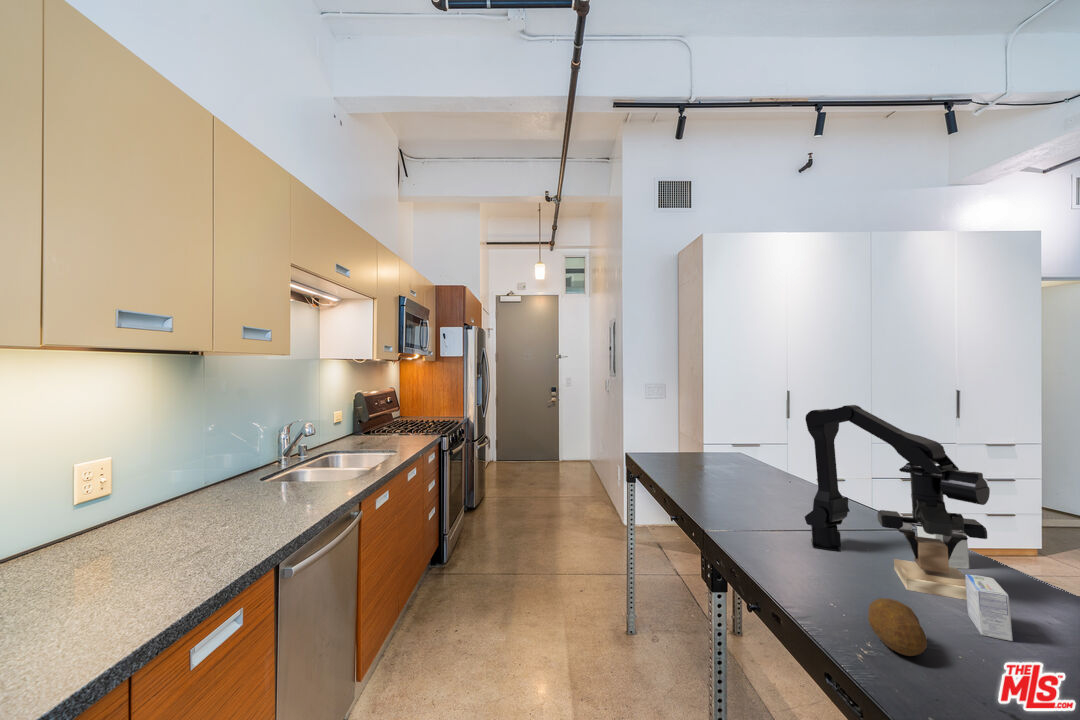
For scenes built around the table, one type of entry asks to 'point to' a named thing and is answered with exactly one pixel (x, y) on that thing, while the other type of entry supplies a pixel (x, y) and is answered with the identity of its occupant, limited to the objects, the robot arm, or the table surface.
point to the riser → (931, 580)
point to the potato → (897, 626)
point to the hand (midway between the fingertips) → (930, 560)
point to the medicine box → (988, 607)
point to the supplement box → (959, 553)
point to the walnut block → (932, 554)
